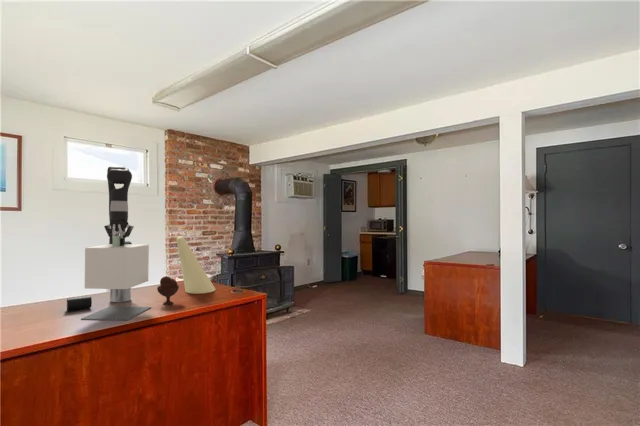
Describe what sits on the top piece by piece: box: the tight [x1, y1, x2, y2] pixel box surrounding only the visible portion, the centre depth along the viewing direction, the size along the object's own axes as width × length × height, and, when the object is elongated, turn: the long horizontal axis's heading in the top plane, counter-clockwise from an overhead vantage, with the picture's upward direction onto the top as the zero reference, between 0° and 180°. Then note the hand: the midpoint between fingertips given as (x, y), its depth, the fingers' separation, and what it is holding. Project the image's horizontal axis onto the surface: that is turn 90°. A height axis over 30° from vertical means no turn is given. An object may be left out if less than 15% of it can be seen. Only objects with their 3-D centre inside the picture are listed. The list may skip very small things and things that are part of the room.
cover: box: [84, 234, 150, 290], centre depth 172 cm, size 20×20×24 cm
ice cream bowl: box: [157, 276, 180, 306], centre depth 191 cm, size 11×11×15 cm
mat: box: [80, 305, 152, 322], centre depth 172 cm, size 22×22×1 cm
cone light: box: [175, 235, 216, 295], centre depth 224 cm, size 25×18×35 cm
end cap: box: [66, 295, 93, 313], centre depth 177 cm, size 10×7×7 cm
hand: (118, 245), depth 172 cm, fingers closed on cover, 2 cm apart
